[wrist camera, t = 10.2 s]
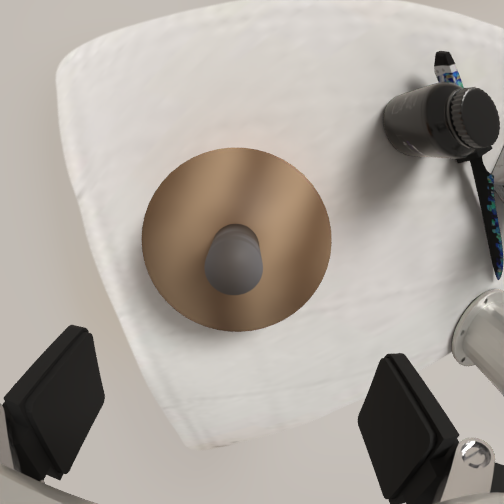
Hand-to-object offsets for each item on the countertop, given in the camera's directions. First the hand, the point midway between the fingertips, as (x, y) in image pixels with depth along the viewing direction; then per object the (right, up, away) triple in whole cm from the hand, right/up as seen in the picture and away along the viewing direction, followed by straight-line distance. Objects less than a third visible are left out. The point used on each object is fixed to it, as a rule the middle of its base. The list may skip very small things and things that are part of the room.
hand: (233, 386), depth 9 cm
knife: (+27, +13, +21) cm, 36 cm away
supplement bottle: (+17, +18, +19) cm, 31 cm away
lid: (-1, +5, +16) cm, 17 cm away
